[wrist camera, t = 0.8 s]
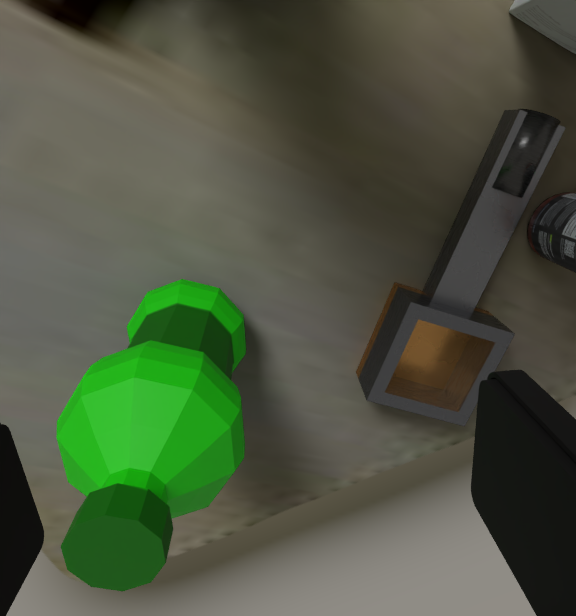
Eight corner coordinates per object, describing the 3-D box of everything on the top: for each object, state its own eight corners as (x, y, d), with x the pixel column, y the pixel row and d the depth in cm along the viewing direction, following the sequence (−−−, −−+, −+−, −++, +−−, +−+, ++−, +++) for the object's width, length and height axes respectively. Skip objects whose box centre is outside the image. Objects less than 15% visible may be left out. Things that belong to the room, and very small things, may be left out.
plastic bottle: (115, 290, 41) (-73, 507, 18) (226, 249, 40) (178, 420, 17) (165, 383, 45) (62, 661, 22) (268, 346, 44) (275, 596, 21)
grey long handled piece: (474, 95, 37) (505, 91, 32) (578, 136, 38) (621, 138, 34) (356, 372, 46) (366, 400, 41) (444, 396, 47) (464, 426, 42)
